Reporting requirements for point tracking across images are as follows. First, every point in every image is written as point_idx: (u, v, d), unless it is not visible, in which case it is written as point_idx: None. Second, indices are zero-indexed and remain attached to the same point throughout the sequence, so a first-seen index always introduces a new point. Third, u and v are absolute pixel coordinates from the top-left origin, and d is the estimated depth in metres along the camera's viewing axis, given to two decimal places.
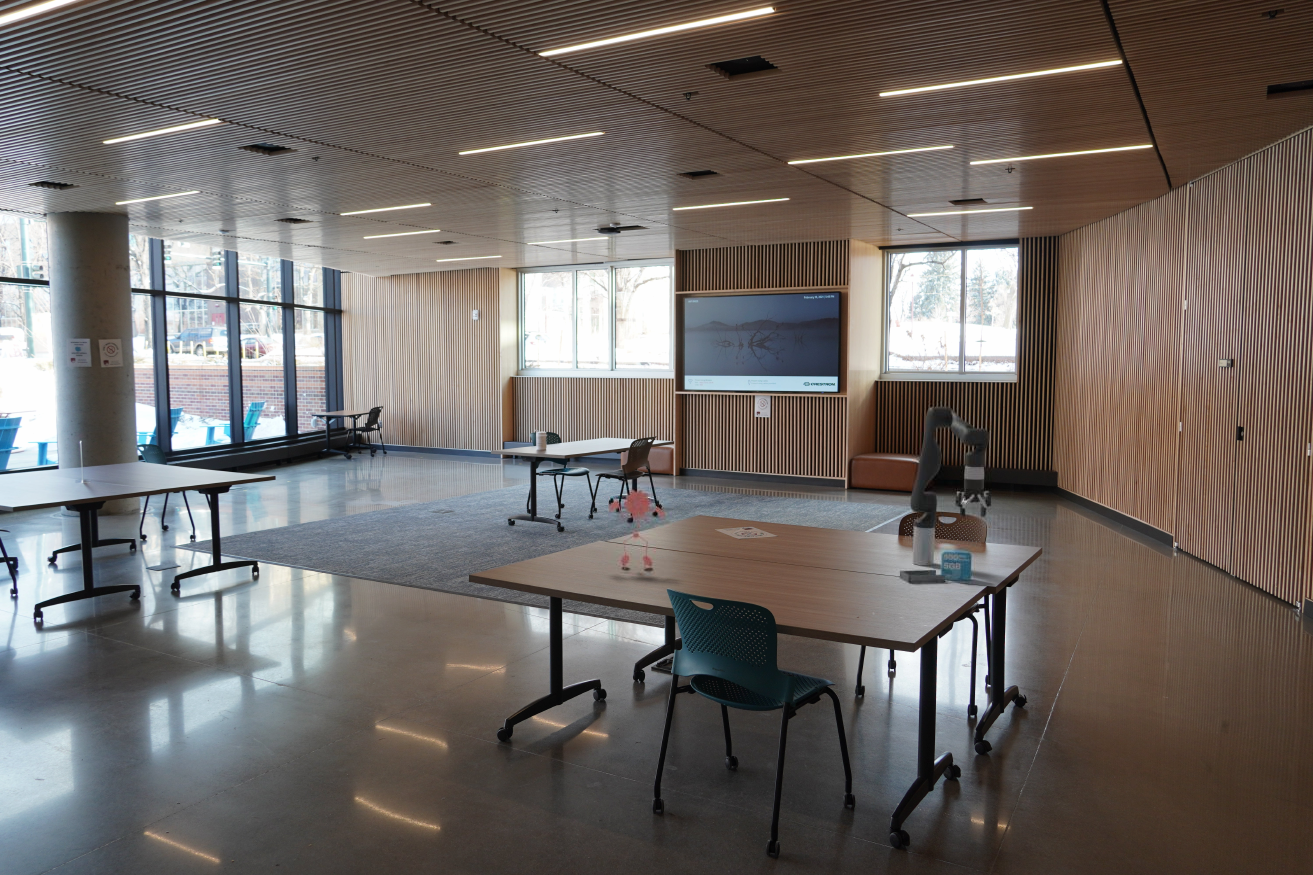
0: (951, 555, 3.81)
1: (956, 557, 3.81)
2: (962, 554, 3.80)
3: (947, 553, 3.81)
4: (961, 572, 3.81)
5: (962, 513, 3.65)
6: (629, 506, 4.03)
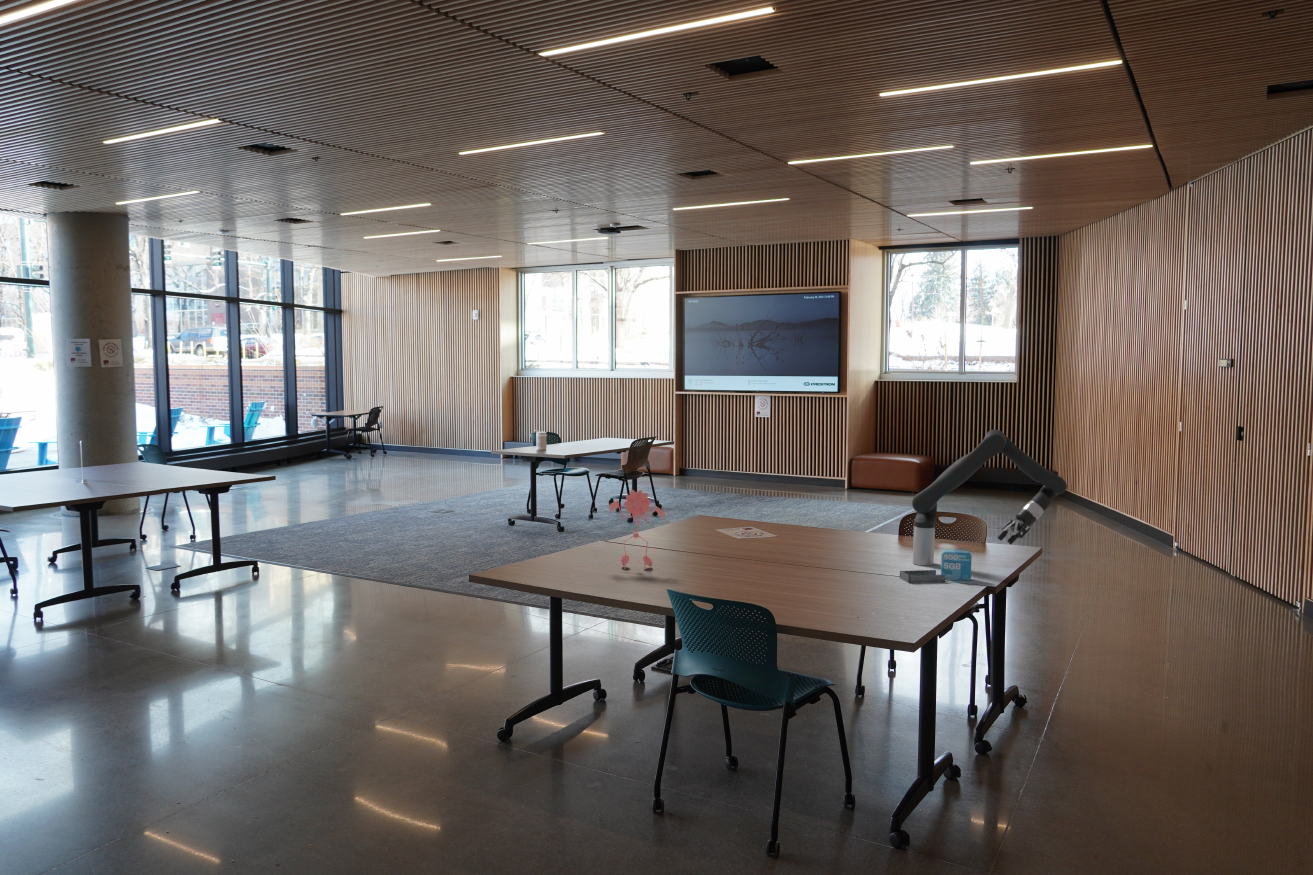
0: (951, 555, 3.81)
1: (956, 557, 3.81)
2: (962, 554, 3.80)
3: (947, 553, 3.81)
4: (961, 572, 3.81)
5: (1013, 541, 3.80)
6: (629, 506, 4.03)
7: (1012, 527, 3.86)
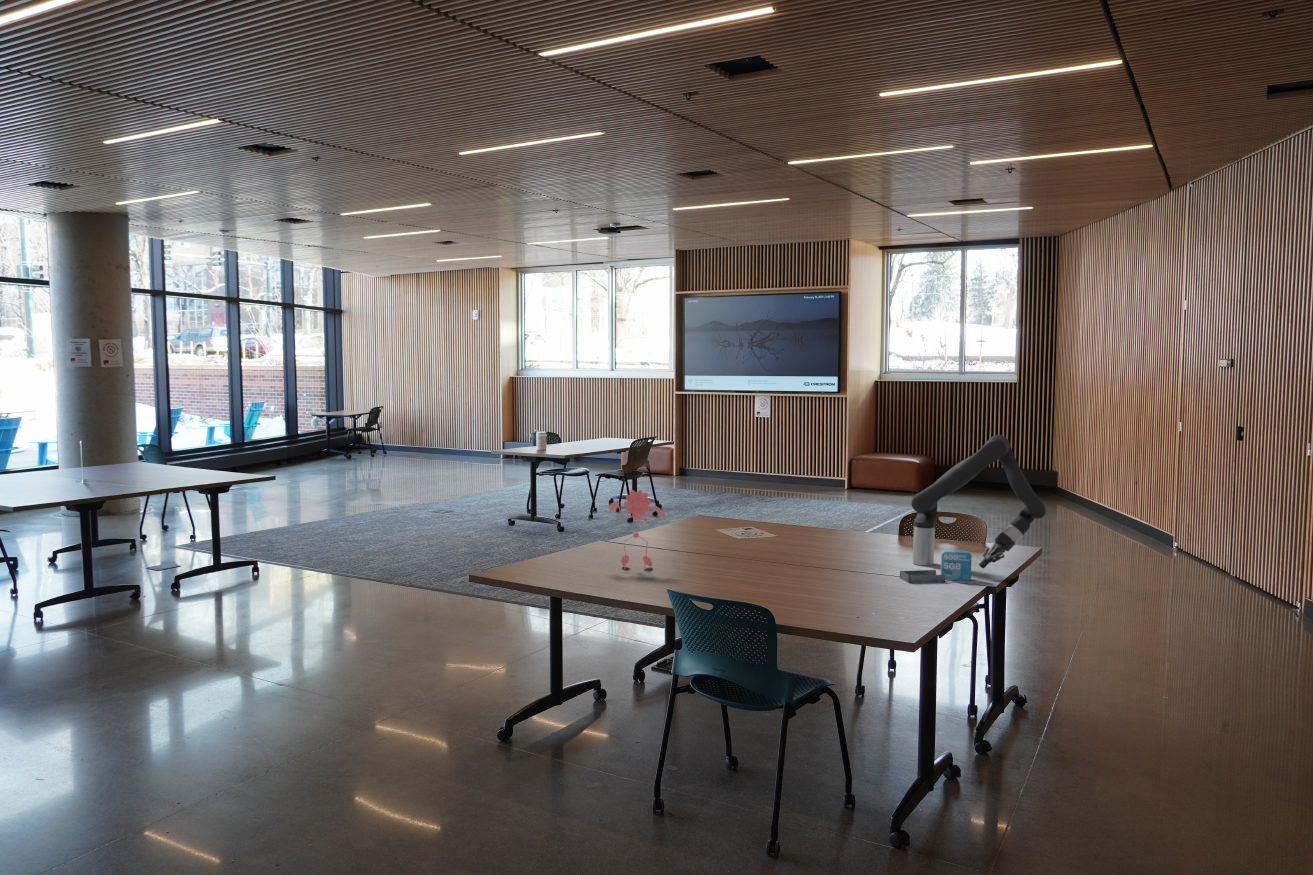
0: (951, 555, 3.81)
1: (956, 557, 3.81)
2: (962, 554, 3.80)
3: (947, 553, 3.81)
4: (961, 572, 3.81)
5: (985, 565, 3.84)
6: (629, 506, 4.03)
7: None
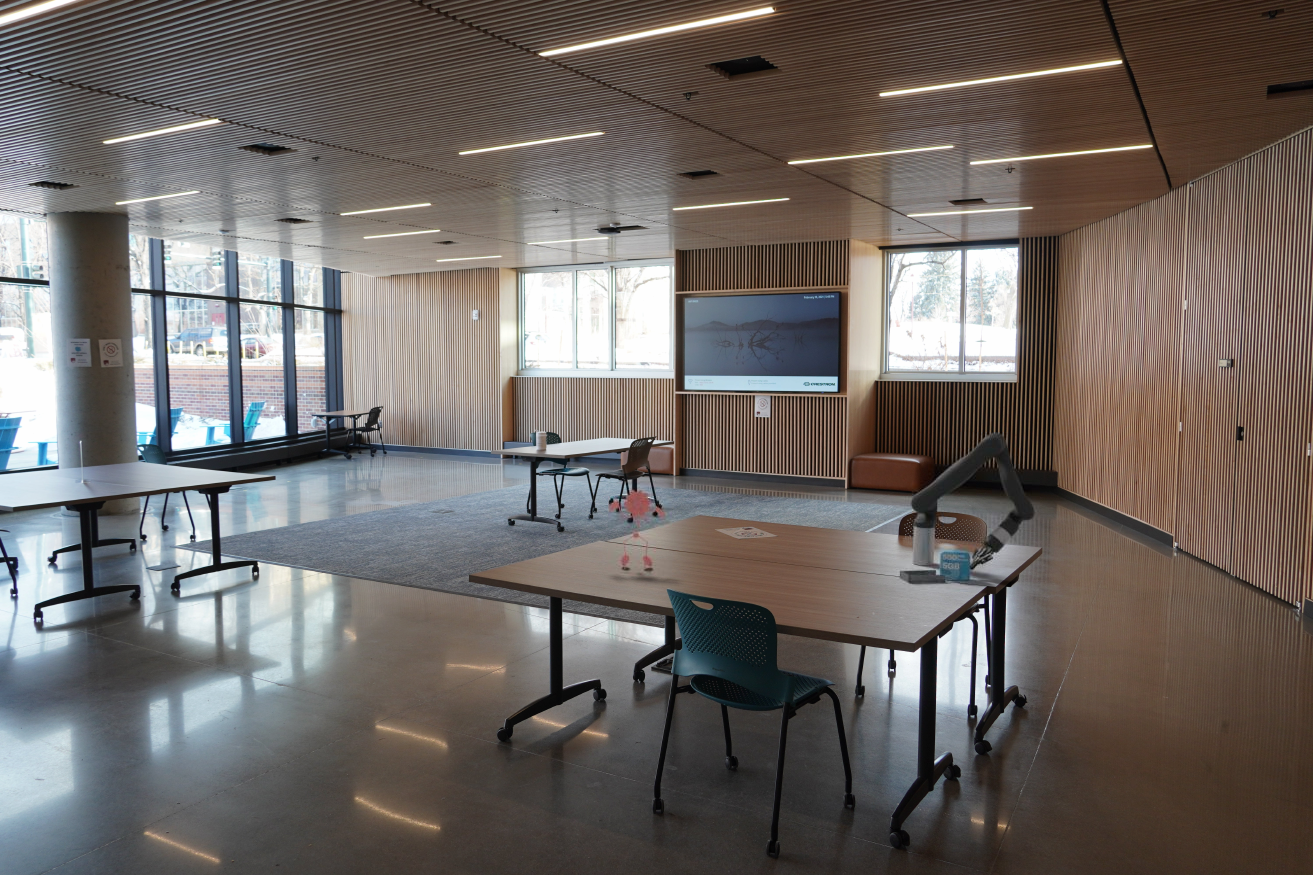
0: (950, 555, 3.81)
1: (955, 557, 3.81)
2: (961, 554, 3.80)
3: (946, 553, 3.81)
4: (960, 572, 3.80)
5: (974, 567, 3.83)
6: (629, 506, 4.03)
7: None
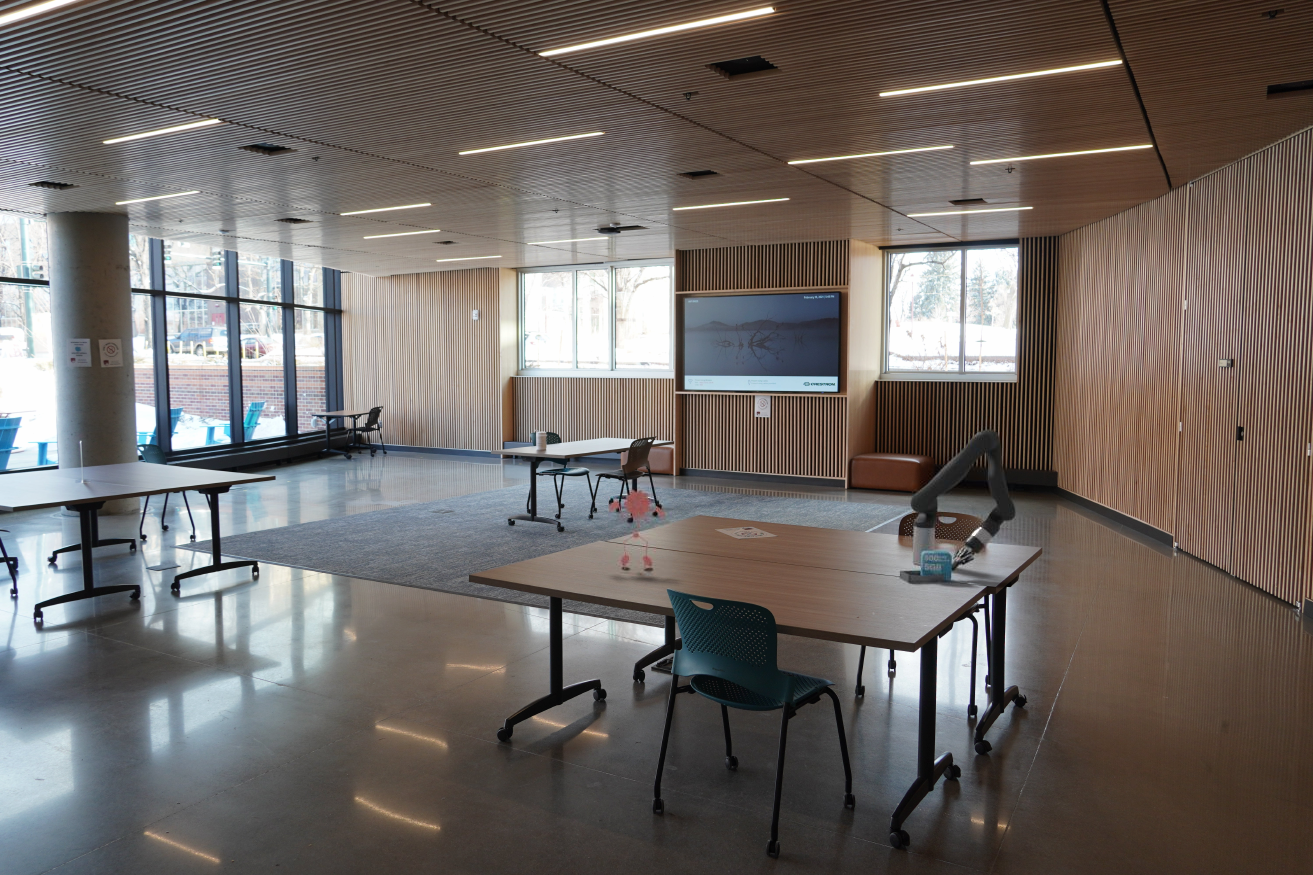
0: (931, 556, 3.79)
1: (937, 558, 3.79)
2: (942, 555, 3.78)
3: (928, 554, 3.79)
4: (942, 573, 3.79)
5: (955, 568, 3.82)
6: (629, 506, 4.03)
7: None
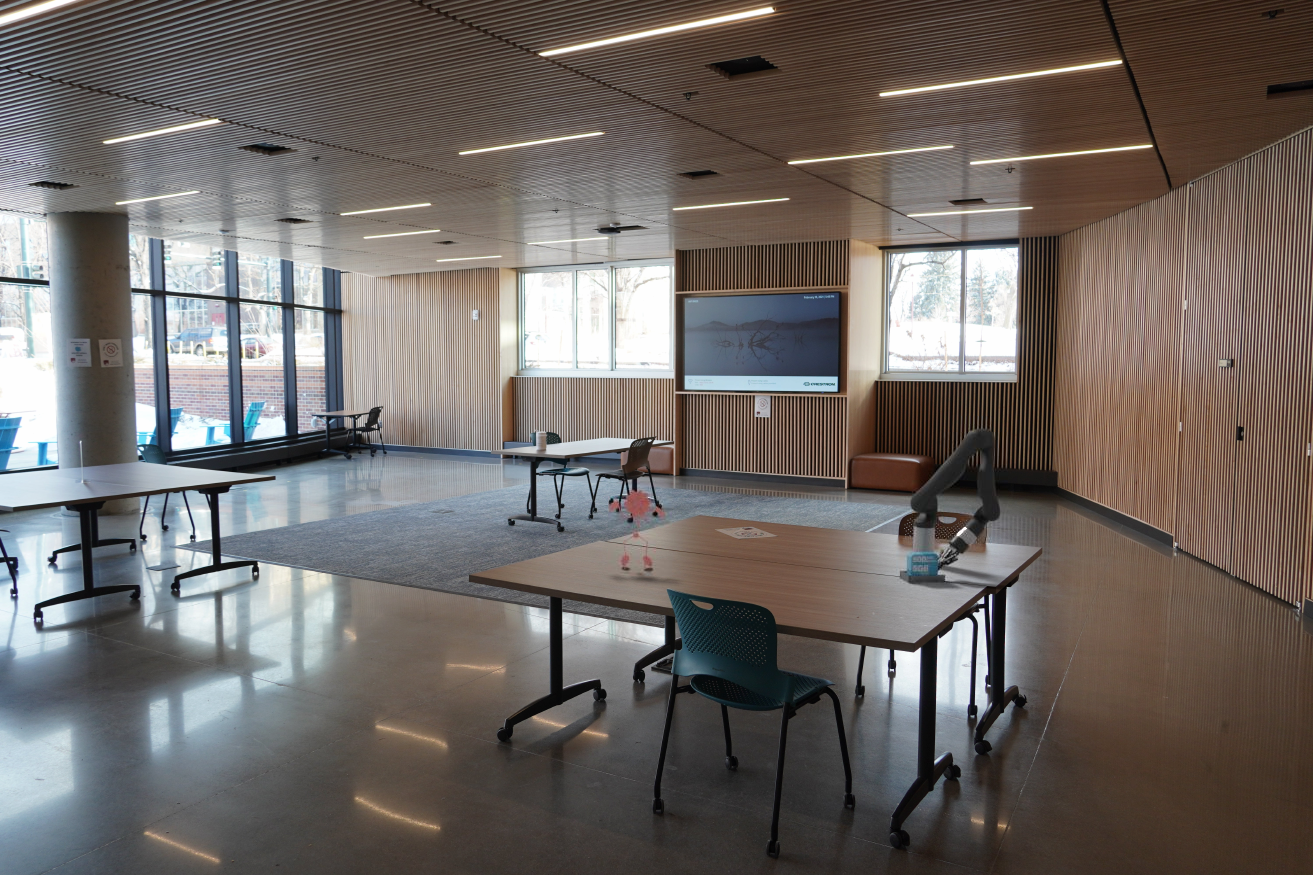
0: (919, 557, 3.76)
1: (924, 559, 3.77)
2: (930, 555, 3.77)
3: (916, 555, 3.76)
4: (929, 574, 3.77)
5: (939, 568, 3.81)
6: (629, 506, 4.03)
7: None
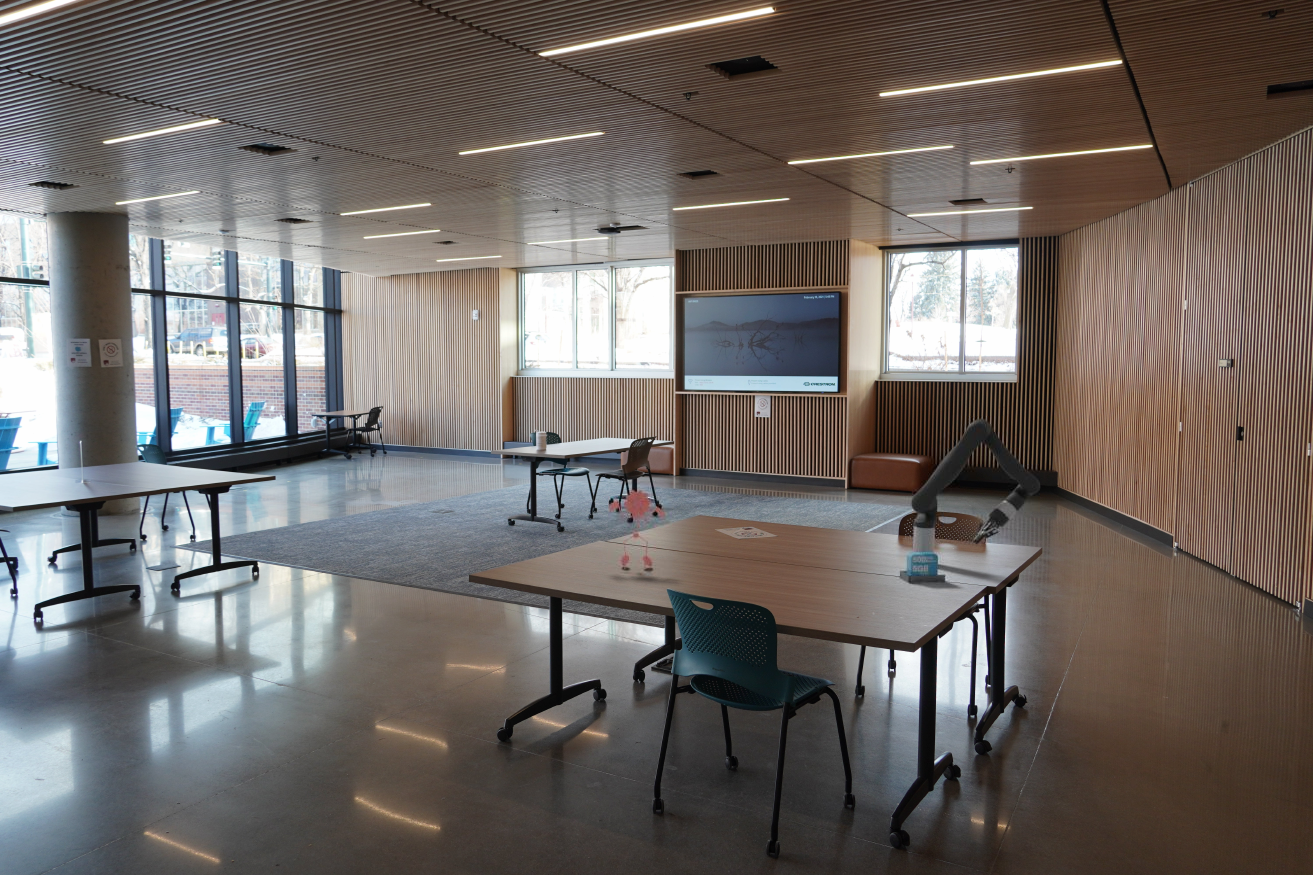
0: (919, 557, 3.76)
1: (924, 559, 3.77)
2: (930, 555, 3.77)
3: (916, 556, 3.76)
4: (929, 574, 3.77)
5: (979, 541, 3.83)
6: (629, 506, 4.03)
7: None
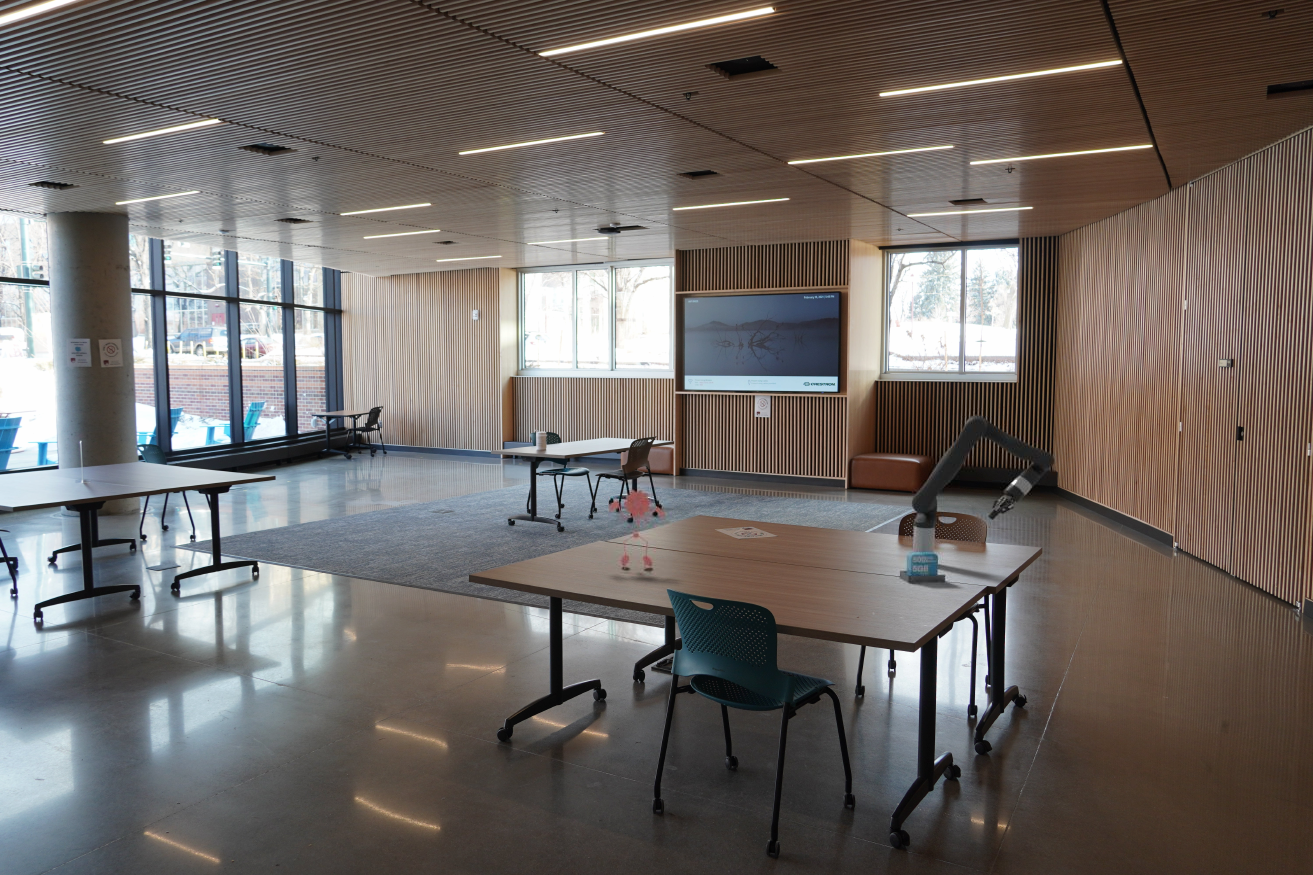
0: (919, 557, 3.76)
1: (924, 559, 3.77)
2: (930, 555, 3.77)
3: (916, 556, 3.76)
4: (929, 574, 3.77)
5: None
6: (629, 506, 4.03)
7: None
